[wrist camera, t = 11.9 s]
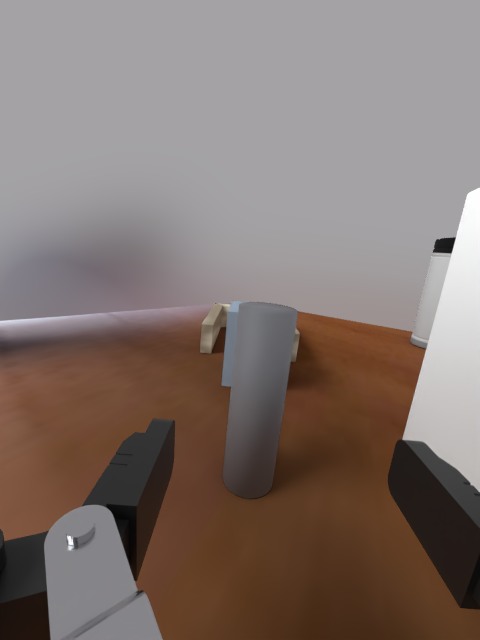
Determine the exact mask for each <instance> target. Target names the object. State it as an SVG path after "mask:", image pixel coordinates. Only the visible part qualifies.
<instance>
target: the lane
mask: <svg viewBox="0 0 480 640" xmlns="http://www.w3.org/2000/svg"><path fill="white" fill-rule="evenodd" d="M229 308H230V305H228V304H218V303H215V304H214V306H213V307H212V309H211V311H210V312H209V314H208V315H207V317H206V318H205V320H204V321H203V323H202V328H201V344H200V353H209V354H211V352H212V349H213V347H214V344H215V341H216V339H217V336H218V333H219V331H220V328H221V327H227V317H228V310H229ZM299 337H300V333H299V332H298V330H297V328H296V329H295V336H294V342H293V349H292V356H291V362H296V357H297V350H298V344H299Z"/></svg>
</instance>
